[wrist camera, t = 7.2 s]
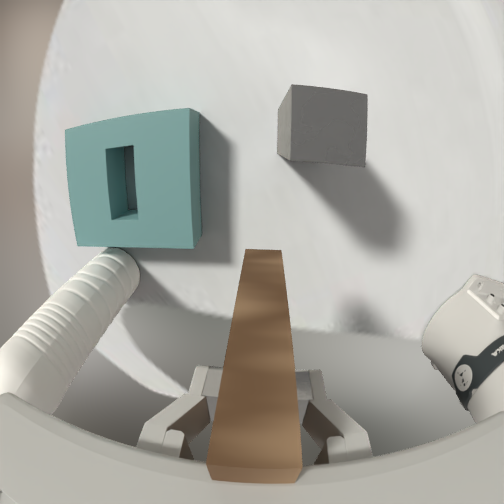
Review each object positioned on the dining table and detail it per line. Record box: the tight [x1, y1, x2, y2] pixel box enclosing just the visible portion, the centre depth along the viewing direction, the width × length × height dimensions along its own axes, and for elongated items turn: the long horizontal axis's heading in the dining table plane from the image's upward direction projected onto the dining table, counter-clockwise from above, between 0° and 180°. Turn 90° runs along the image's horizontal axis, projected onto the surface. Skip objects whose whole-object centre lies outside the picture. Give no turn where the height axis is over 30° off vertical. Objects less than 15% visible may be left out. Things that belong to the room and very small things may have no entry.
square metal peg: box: [277, 85, 367, 167], centre depth 19 cm, size 4×4×12 cm
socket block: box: [65, 108, 202, 249], centre depth 25 cm, size 14×13×4 cm
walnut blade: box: [206, 249, 303, 484], centre depth 11 cm, size 2×6×12 cm, turn 179°
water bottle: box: [0, 248, 140, 414], centre depth 20 cm, size 9×6×25 cm
